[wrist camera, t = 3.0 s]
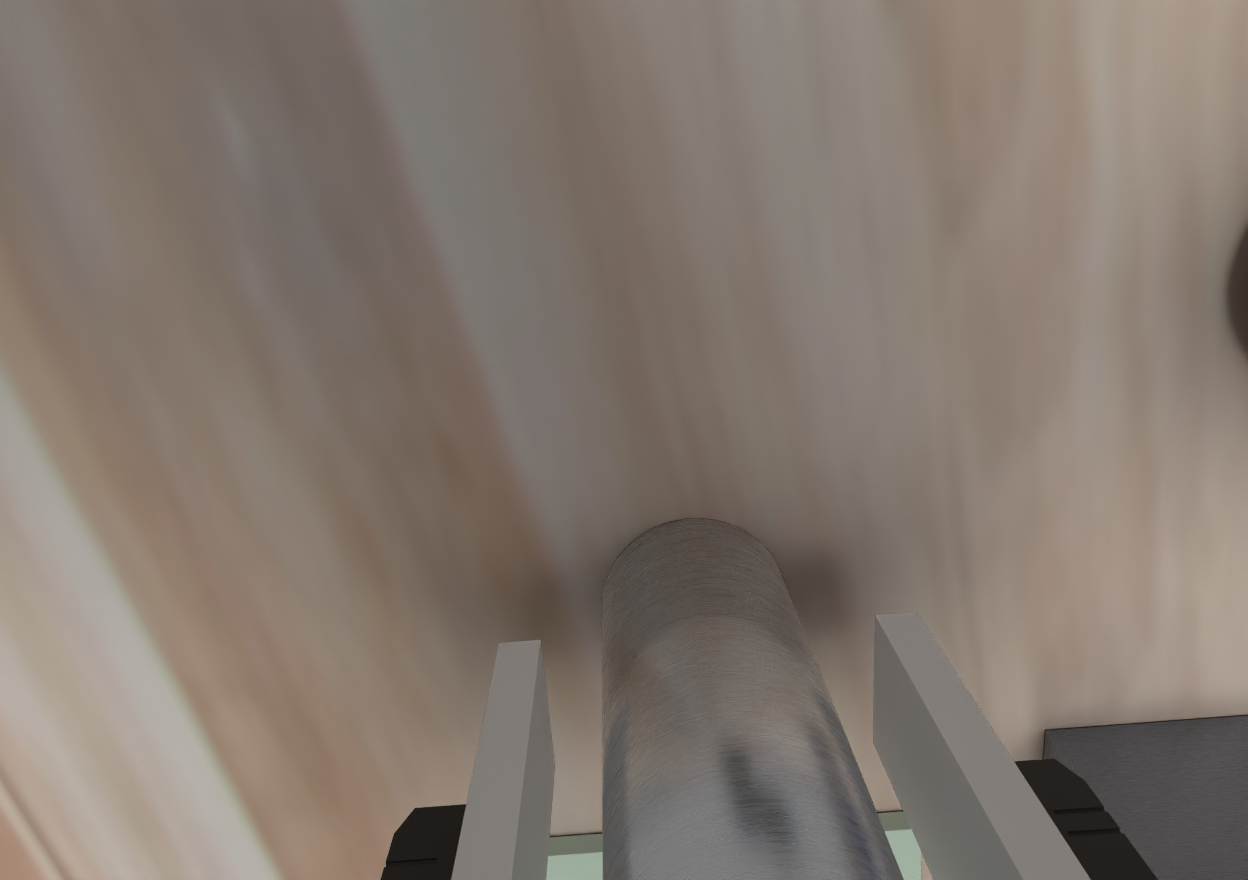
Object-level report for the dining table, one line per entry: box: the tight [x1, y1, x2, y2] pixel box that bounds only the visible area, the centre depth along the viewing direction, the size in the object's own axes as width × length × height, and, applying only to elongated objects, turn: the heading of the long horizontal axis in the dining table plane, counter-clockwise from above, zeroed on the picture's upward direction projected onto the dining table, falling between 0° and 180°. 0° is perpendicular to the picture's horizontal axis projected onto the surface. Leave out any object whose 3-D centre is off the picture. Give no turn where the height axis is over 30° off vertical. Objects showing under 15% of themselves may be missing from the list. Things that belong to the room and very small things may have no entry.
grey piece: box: [602, 519, 904, 880], centre depth 13 cm, size 4×4×14 cm
